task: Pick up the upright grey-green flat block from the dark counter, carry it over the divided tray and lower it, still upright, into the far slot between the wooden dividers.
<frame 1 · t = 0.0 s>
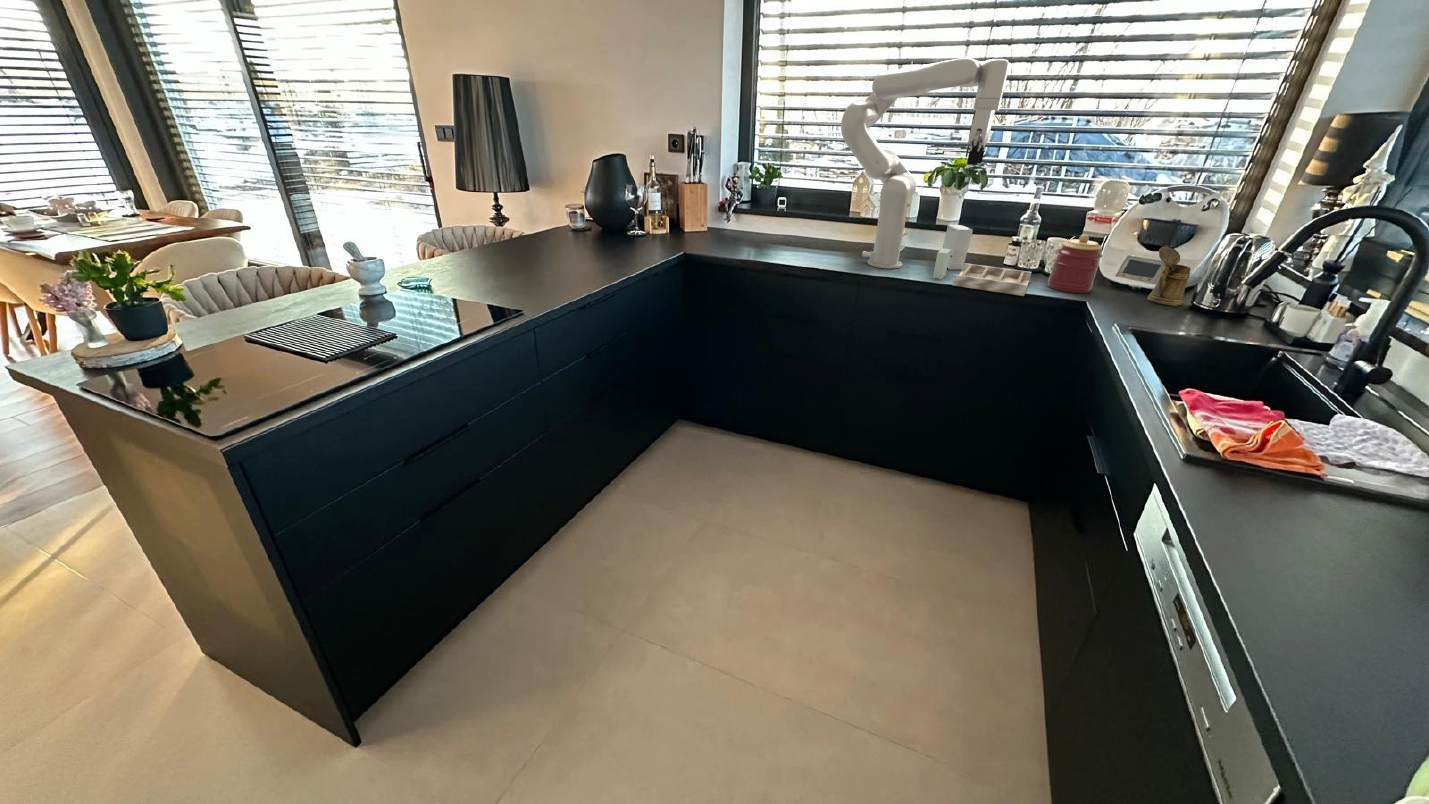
hand: (974, 163, 183), 37 cm above the counter, tool pointing down, fingers open, 9 cm apart
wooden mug: (1158, 303, 174), on the counter
divided tray: (990, 283, 190), on the counter
canister: (1067, 288, 187), on the counter
skincare box: (950, 267, 210), on the counter
grey-green flat block: (939, 276, 198), on the counter
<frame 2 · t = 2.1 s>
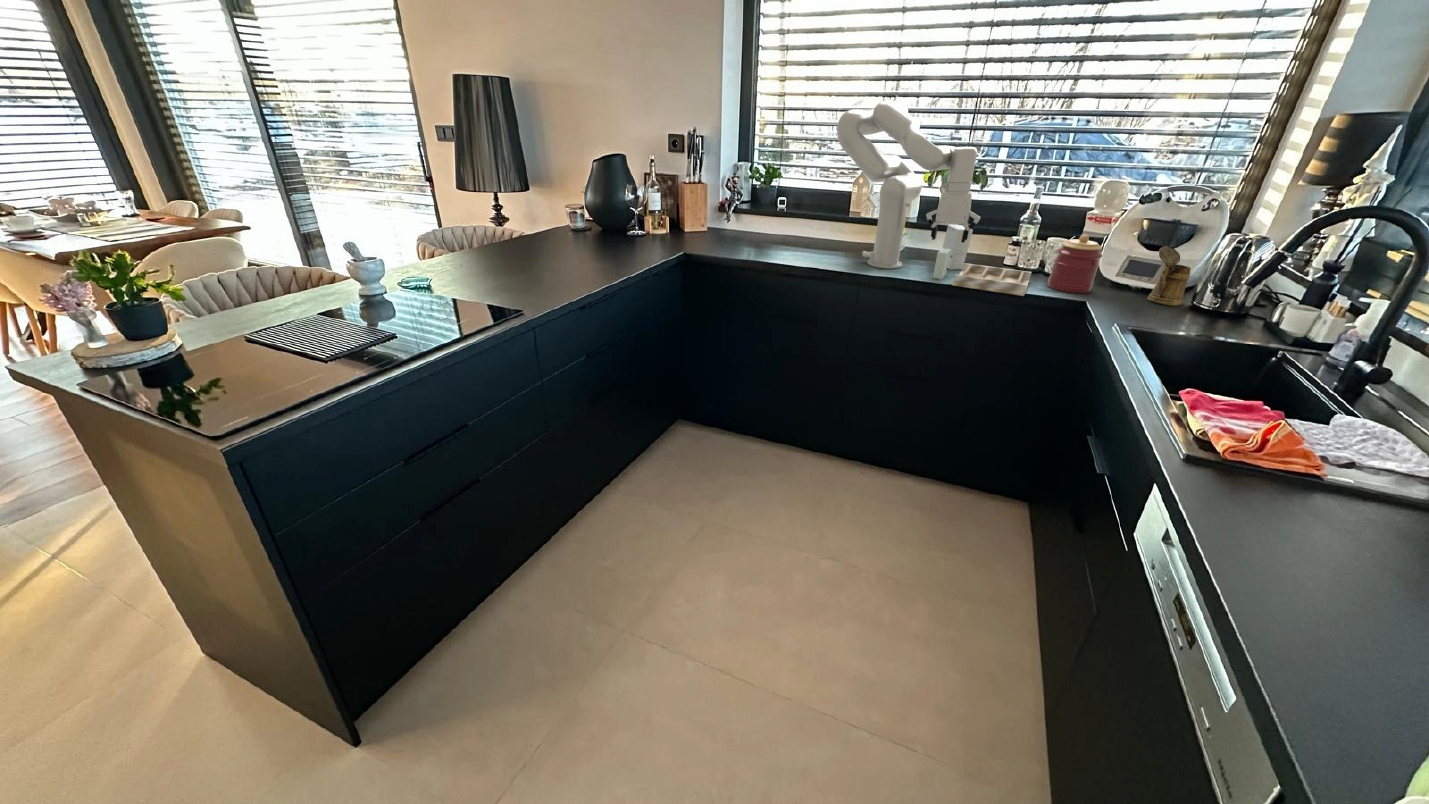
hand: (948, 240, 191), 12 cm above the counter, tool pointing down, fingers open, 9 cm apart
nothing on the counter moved.
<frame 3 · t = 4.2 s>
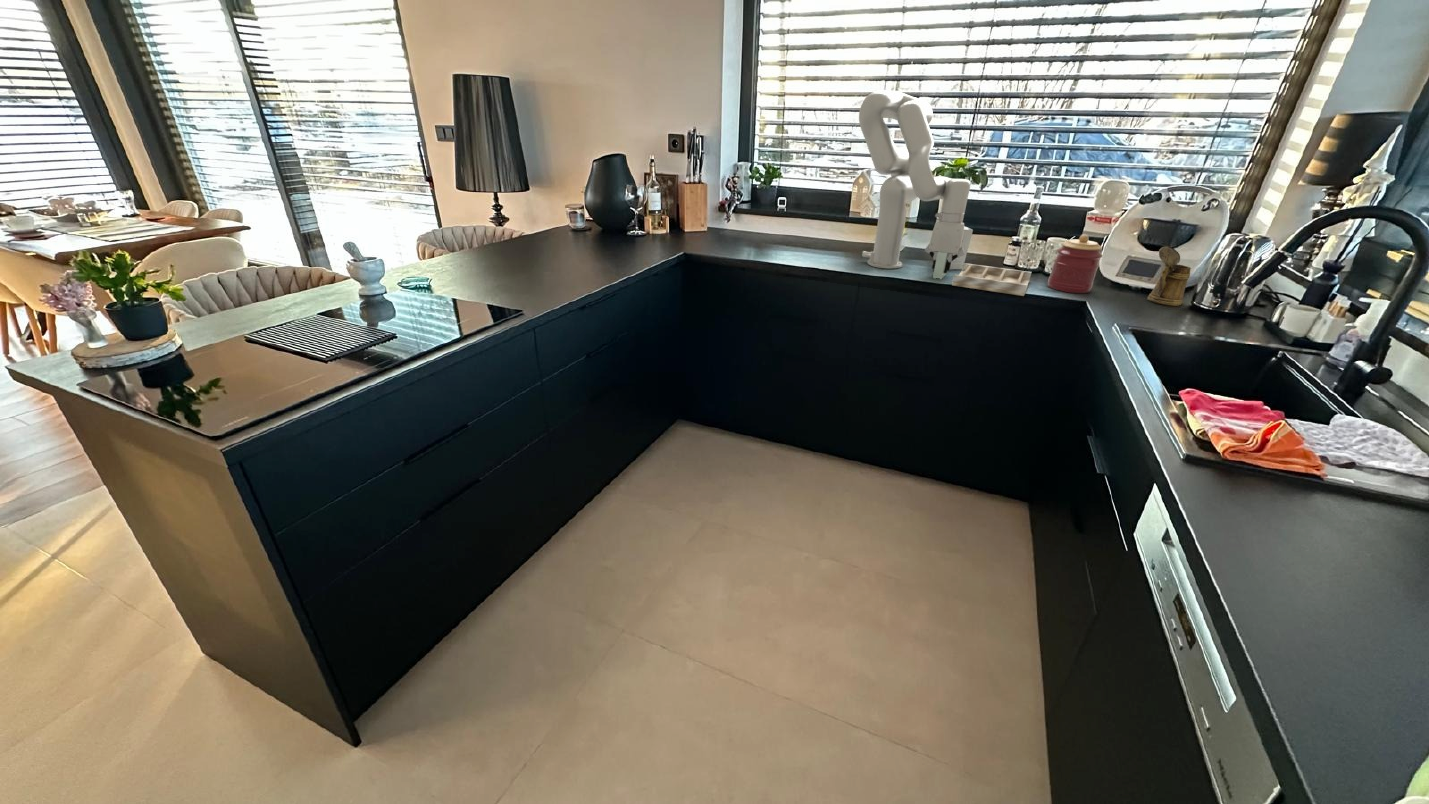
hand: (940, 271, 197), 2 cm above the counter, tool pointing down, fingers closed on grey-green flat block, 3 cm apart
grey-green flat block: (939, 276, 198), on the counter, touching gripper
everything else where it was.
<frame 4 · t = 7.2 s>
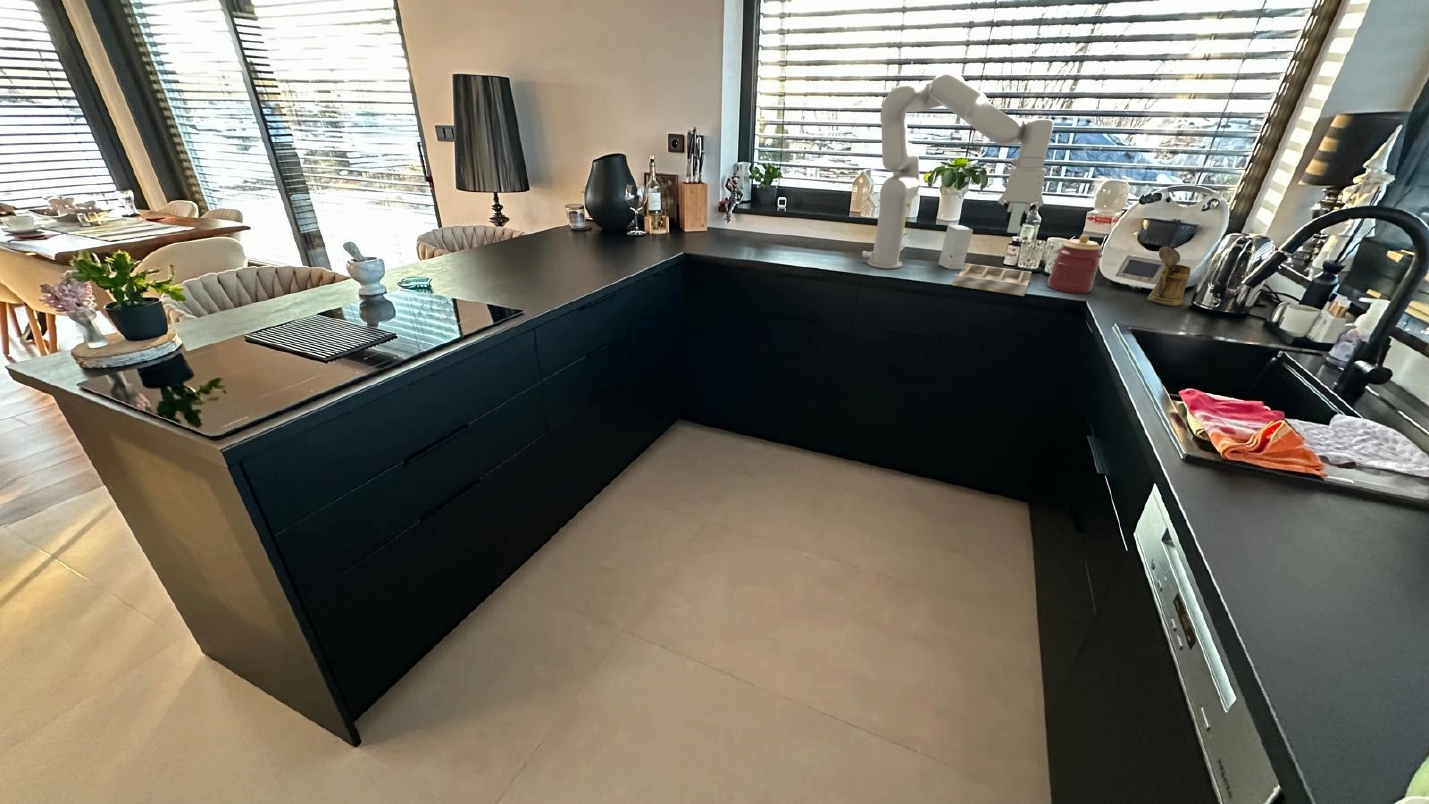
hand: (1015, 224, 180), 20 cm above the counter, tool pointing down, fingers closed on grey-green flat block, 3 cm apart
grey-green flat block: (1013, 230, 180), point 18 cm above the counter, touching gripper
everything else where it was.
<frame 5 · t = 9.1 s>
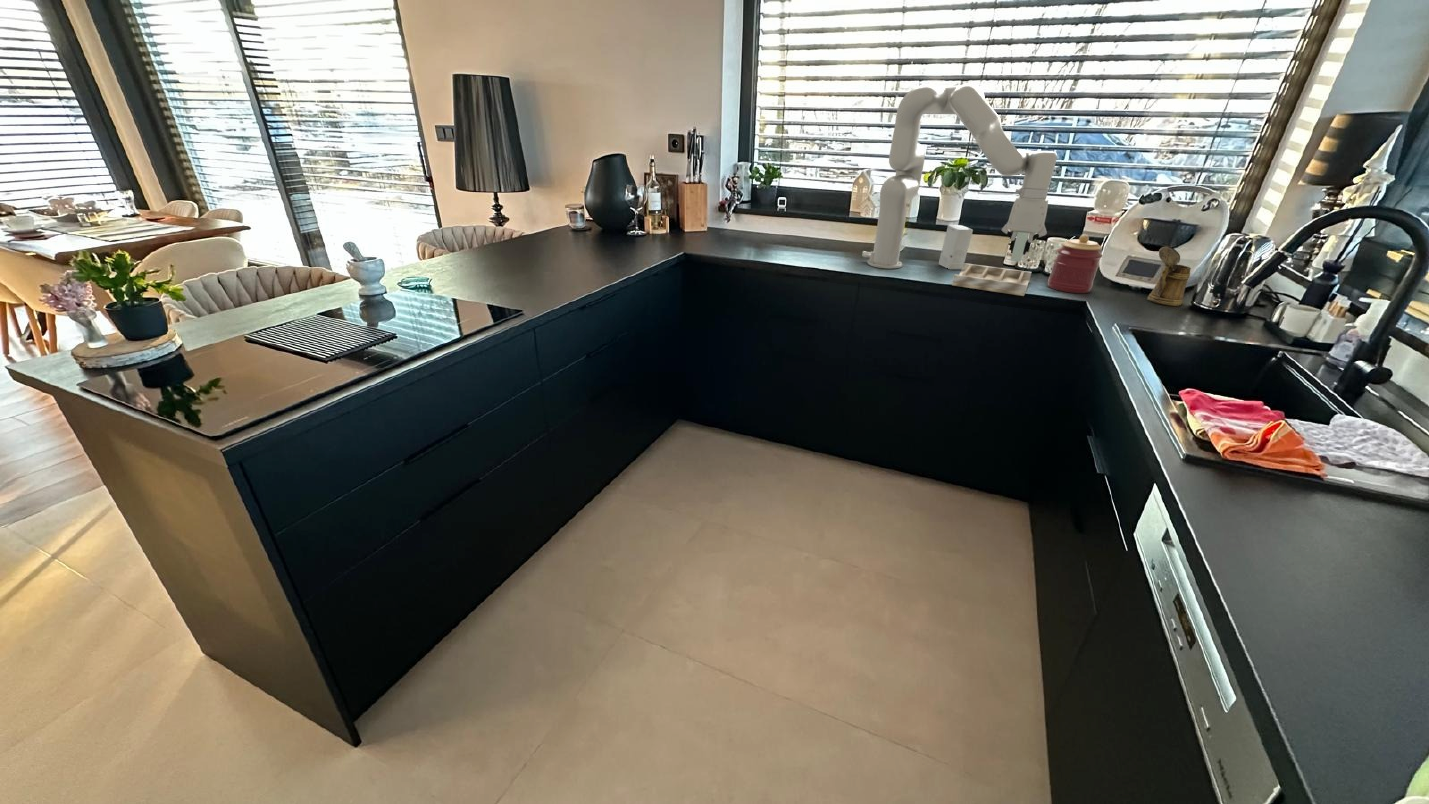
hand: (1018, 252, 182), 11 cm above the counter, tool pointing down, fingers closed on grey-green flat block, 3 cm apart
grey-green flat block: (1016, 258, 183), point 9 cm above the counter, touching gripper
everything else where it was.
when the fingers open (5 cm above the counter, at t = 10.5 s): grey-green flat block drops 2 cm, resting on divided tray.
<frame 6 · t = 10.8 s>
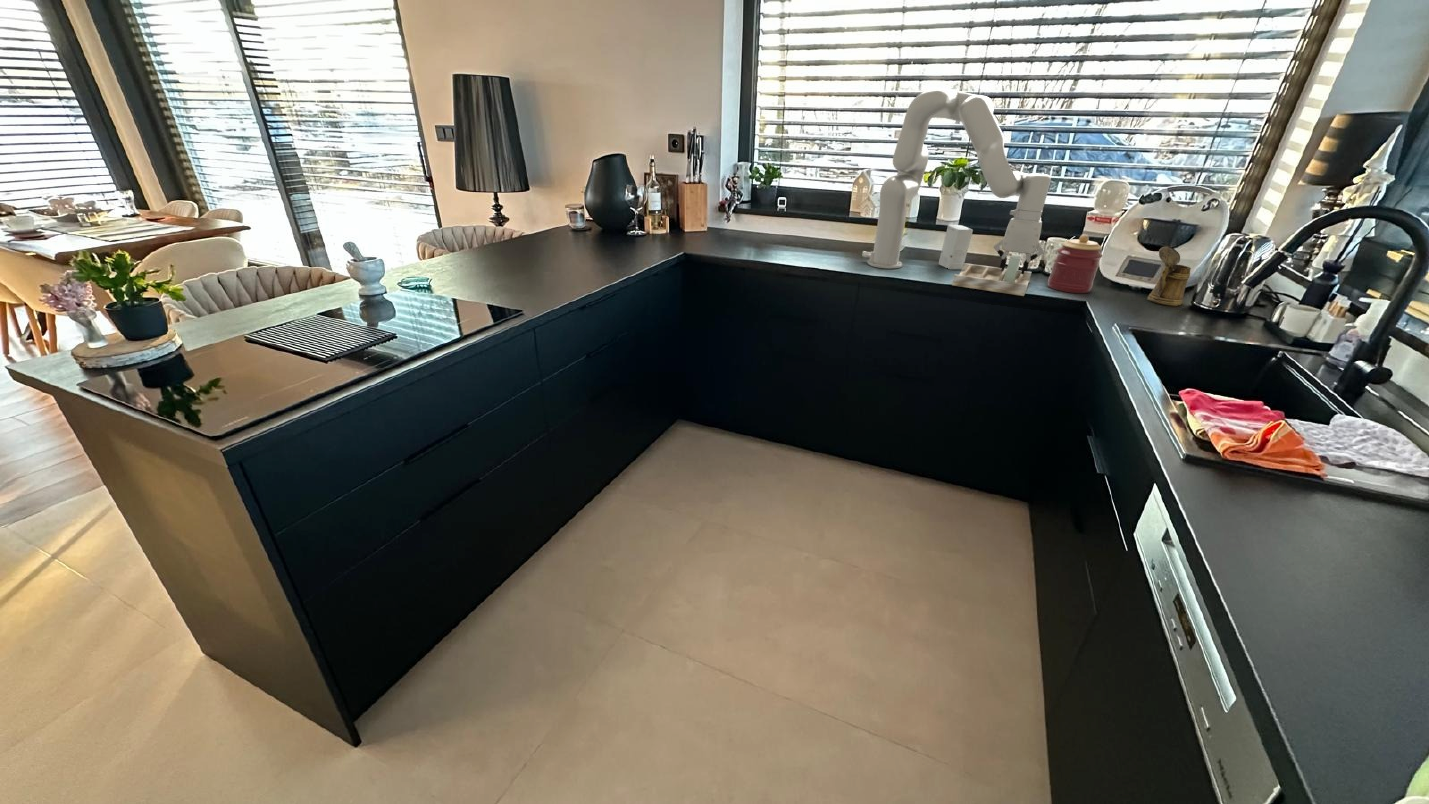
hand: (1012, 271, 185), 5 cm above the counter, tool pointing down, fingers open, 5 cm apart
grey-green flat block: (1008, 283, 187), point 1 cm above the counter, touching divided tray
everything else where it was.
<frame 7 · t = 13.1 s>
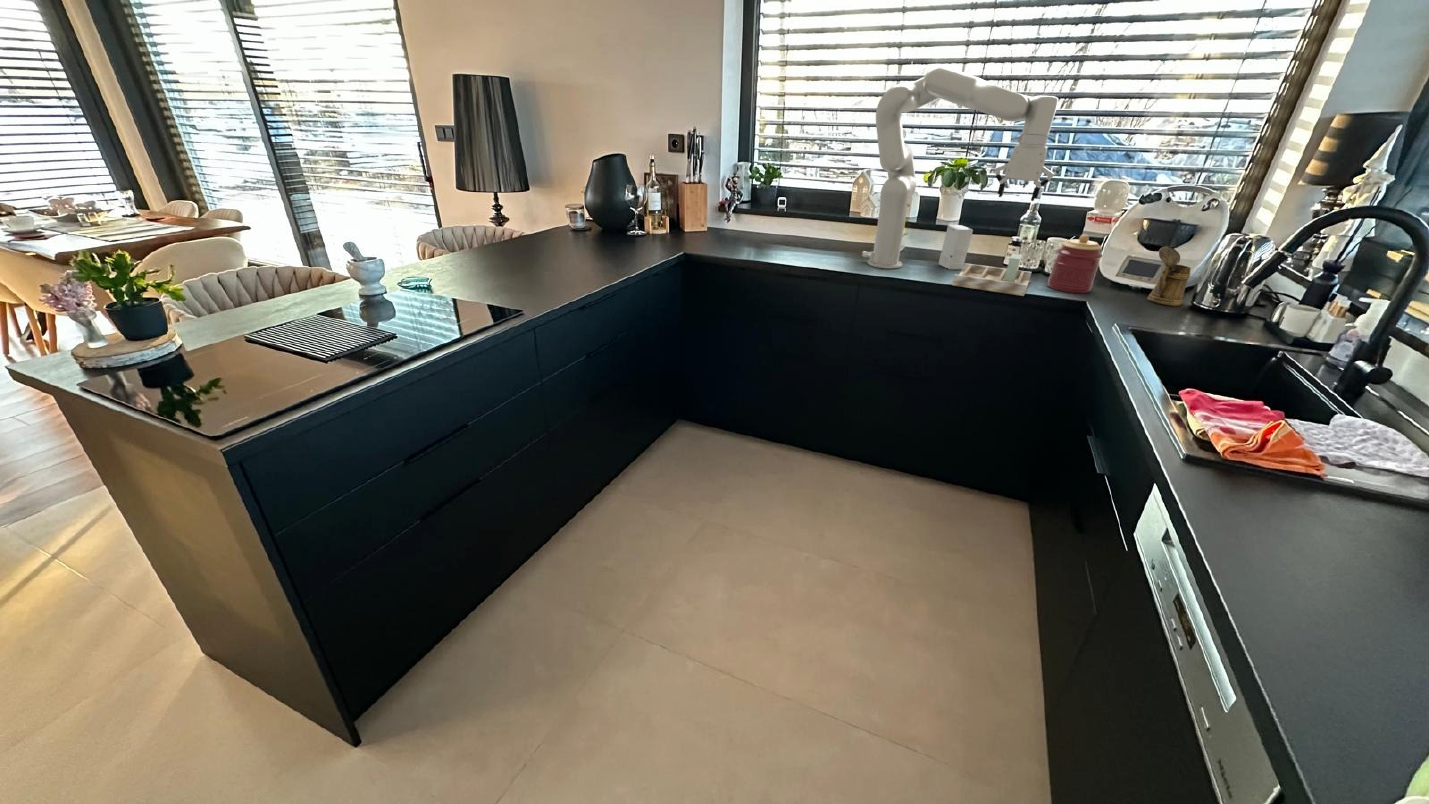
hand: (1016, 198, 182), 27 cm above the counter, tool pointing down, fingers open, 9 cm apart
nothing on the counter moved.
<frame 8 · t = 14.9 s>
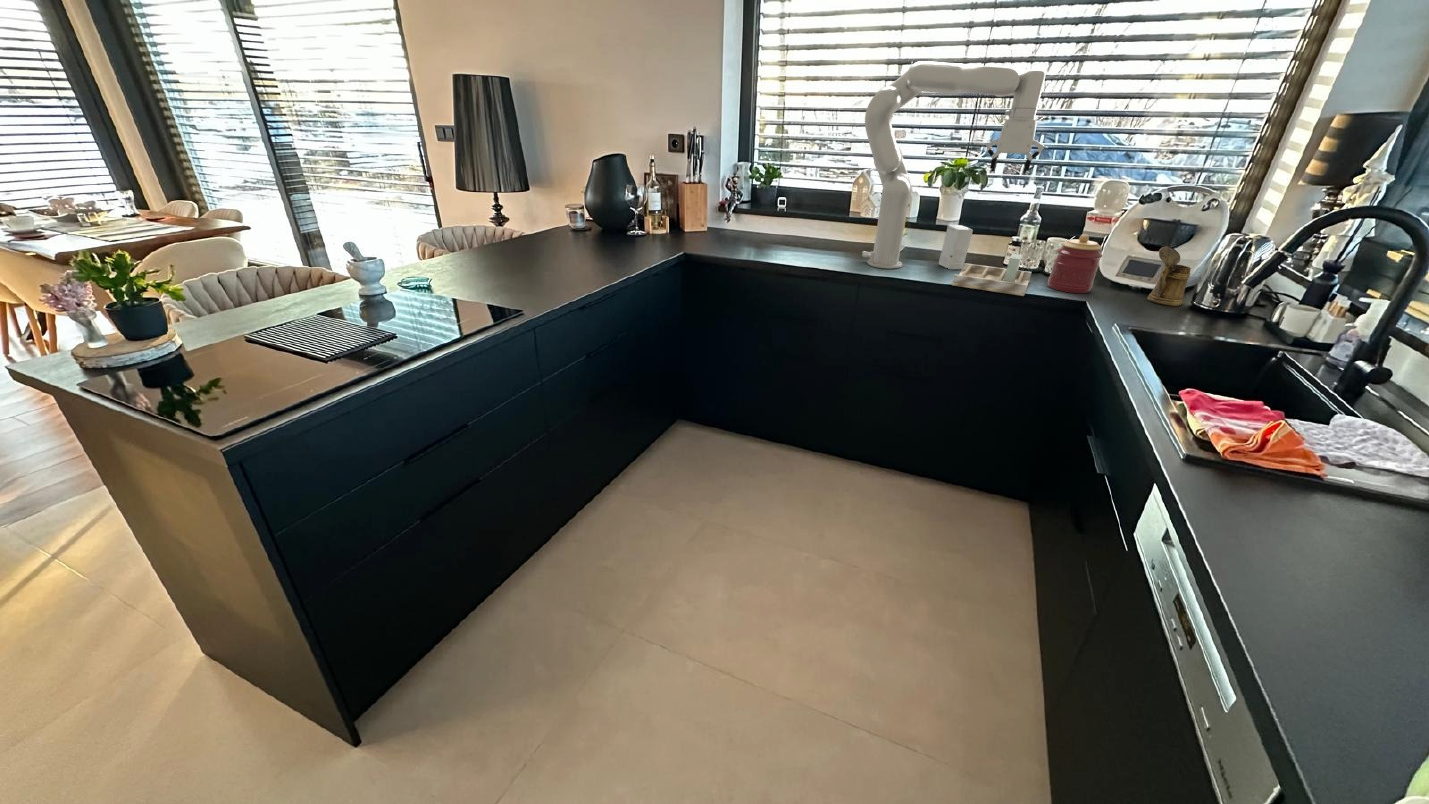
hand: (1008, 172, 186), 34 cm above the counter, tool pointing down, fingers open, 9 cm apart
nothing on the counter moved.
at the end: grey-green flat block inside the target area on the divided tray (0.3 cm from its centre), point 1.0 cm above the divided tray's base; grey-green flat block tilted 0°; the gripper is holding nothing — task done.
